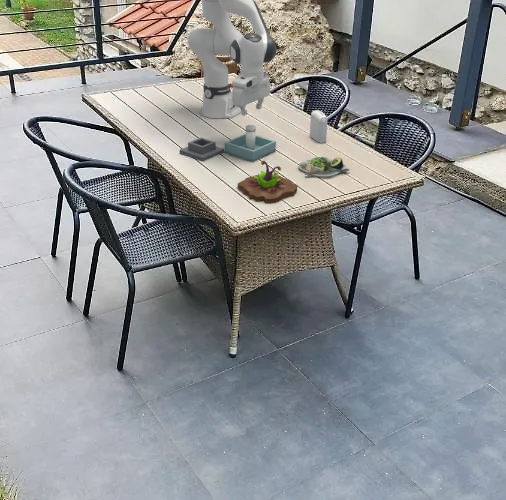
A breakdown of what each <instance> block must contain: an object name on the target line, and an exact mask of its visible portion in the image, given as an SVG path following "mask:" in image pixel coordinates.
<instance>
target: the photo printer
mask: <svg viewBox="0 0 506 500" xmlns="http://www.w3.org/2000/svg"><path fill="white" fill-rule="evenodd" d="M309 126H310V127H309V137H311V138H312V139H313V140H315V141H316V142H317V143H320V144H324V143H326V142H327V133H328V132H327V131H328V117H327V116H326V114H325V113H324V112H323V111H321V110H317V109H316V110H312V112H311V113H310V125H309Z"/></svg>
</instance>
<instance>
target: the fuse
mask: <svg viewBox="0 0 506 500" xmlns="http://www.w3.org/2000/svg"><path fill="white" fill-rule="evenodd" d="M256 128H257V127H256V125H253V124H247V125H245V134H246V148H247V149H250V150H255V137H256V136H257V135H256V131H257V129H256Z"/></svg>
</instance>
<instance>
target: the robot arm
mask: <svg viewBox="0 0 506 500" xmlns="http://www.w3.org/2000/svg"><path fill="white" fill-rule="evenodd" d="M201 7H202V10H201V11H202V15H203V18H204V19H205V20H206V21H207V22H209V23H211V24H212V25H213V26H214V27H215V28H209V27H208V28H205V27H201V28H195V29H192V30H191V31H190V32H189V34H188V37H187V45H188V48H189V49H190V50H191V51H192V52H193V53H194V54H195V55H196V56H197V58H198V59H199V60H200V62H201V64H202V65H201V66H202V69H203V79H204V80H203V81H204V83H203V95H202V105H201V106H202V107H201V108H200V111H201V113H200V114H201V115H202V116H203V117H205V118H210V119H232V118H234V117H236V116H238V115H239V114H241V116H247V115H248V110H247V109H246V106H247V105H249V104H252V103H255V102H257V103H256V104H255V109H256V110H260V109H262V105H263V103H264V101H265V99H264V98H266V97H269V96H270V94H271V83H270V82H271V81H270V80H269V74H268V73H267V72H264V71H265V70H264V69H265V68H264V65H263V64H264V63H265V64H268V63H270V62H271V61H273V60H274V58H276V57H275V56H276V54H277V51H278V49H277V44H276V43H275V40H274V39H273V37H272V35H271V34H270V31H269V30H268V26H267V24H266V22H265V20H264V18H263V15H262V13H261V10H260V8H259V6H258V4H257V2H256V0H201ZM229 13H230V14H232V15H237V16H240V17H242V18H245V19H247V20H248V21H249V23H250V24H251V25H252V28H253V31H254V33H253V32H249V33H248V32H247V33H245V34H244V35H243V34H242V32H240V31H239V30H238V29H237V28H236V27H235V26H234V24H233V23H232V21H231V18H230V16H229ZM216 55H220V56H221V55H222V56H229V58H230V59H231V61H233V62H234V63H235V64H237V65H239V64H240V65H241V69H240V72H239V74H237V76H236V77H235V78H234V79H232V81H231V83H229V68H228V66H227V65H226V64H225V63H224V62H222V61H221V60H219V58H218V57H217V56H216ZM231 89H232V90H231Z"/></svg>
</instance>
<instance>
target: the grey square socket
mask: <svg viewBox="0 0 506 500" xmlns="http://www.w3.org/2000/svg"><path fill="white" fill-rule="evenodd" d="M216 144H217V142H216V141H213V140H211V139H207V138H204V137H199V138H197V139H194V140H192V141H191V140H190V141H189V142H187V146H185V147H183V148H180V149H179V154H180V155H184V156H187V157H189V158H192V159H195V160H198V161H201V162H205V161H207V160H209V159H212V158H214V157H216V156H219V155H221V154H223V153H224V154H225V148H223V147H220V146H217V145H216Z"/></svg>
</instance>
